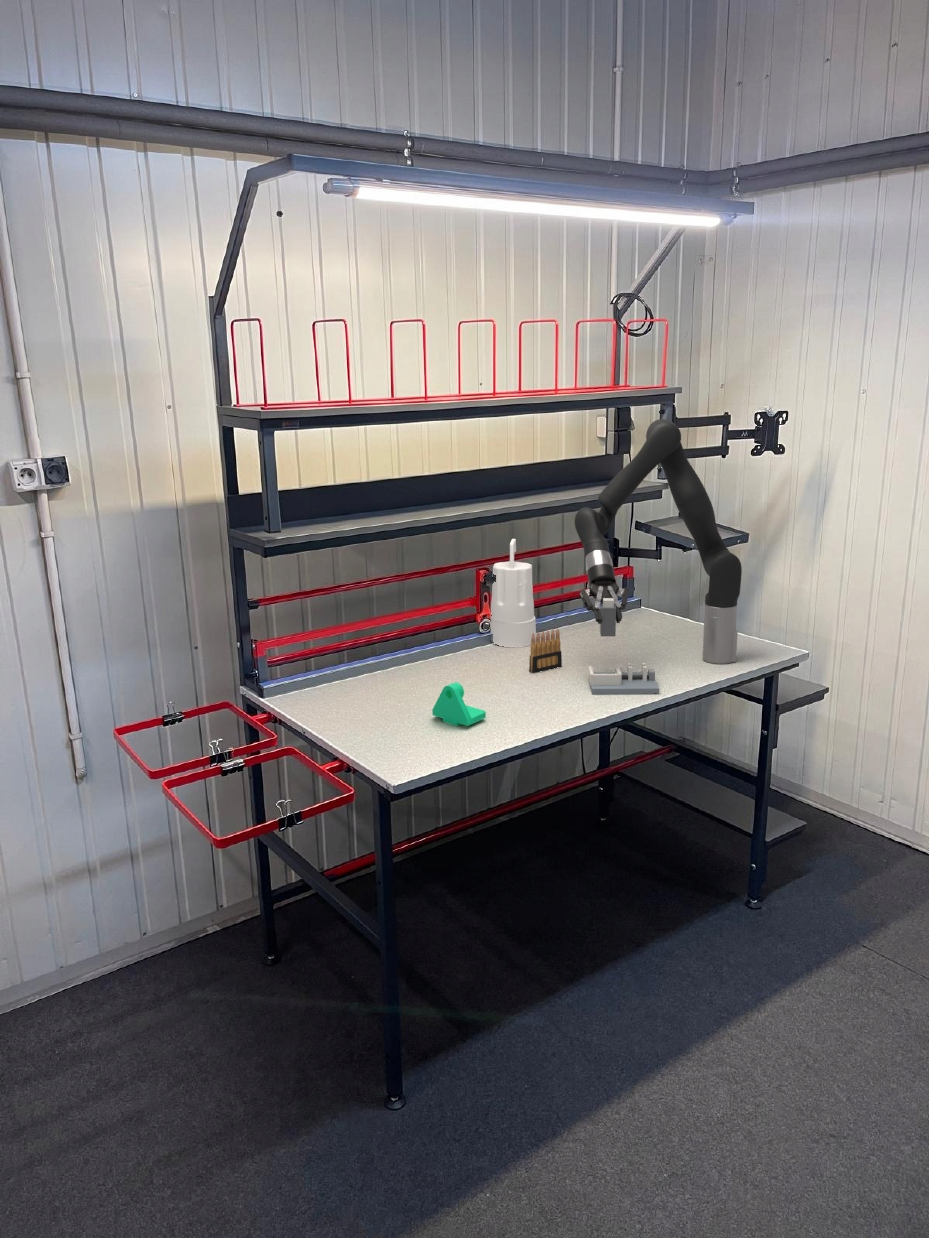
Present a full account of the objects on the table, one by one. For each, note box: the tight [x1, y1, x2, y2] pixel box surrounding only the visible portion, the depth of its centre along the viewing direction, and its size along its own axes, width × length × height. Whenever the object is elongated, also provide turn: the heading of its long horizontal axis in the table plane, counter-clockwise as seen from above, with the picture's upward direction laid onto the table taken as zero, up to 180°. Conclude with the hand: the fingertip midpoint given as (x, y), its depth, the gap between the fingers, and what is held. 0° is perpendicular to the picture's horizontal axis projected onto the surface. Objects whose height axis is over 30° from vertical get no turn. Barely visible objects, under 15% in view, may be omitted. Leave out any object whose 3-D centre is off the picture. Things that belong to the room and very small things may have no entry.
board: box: [587, 662, 660, 695], centre depth 251 cm, size 18×14×6 cm
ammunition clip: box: [528, 627, 563, 674], centre depth 266 cm, size 11×2×12 cm, turn 121°
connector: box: [599, 598, 617, 637], centre depth 249 cm, size 4×4×10 cm
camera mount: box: [431, 682, 487, 727], centre depth 229 cm, size 12×8×10 cm, turn 48°
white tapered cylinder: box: [490, 538, 537, 648], centre depth 293 cm, size 15×15×33 cm
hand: (609, 621), depth 247 cm, fingers closed on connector, 4 cm apart
